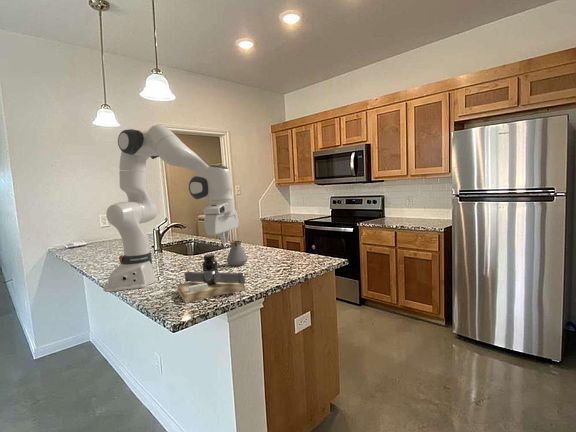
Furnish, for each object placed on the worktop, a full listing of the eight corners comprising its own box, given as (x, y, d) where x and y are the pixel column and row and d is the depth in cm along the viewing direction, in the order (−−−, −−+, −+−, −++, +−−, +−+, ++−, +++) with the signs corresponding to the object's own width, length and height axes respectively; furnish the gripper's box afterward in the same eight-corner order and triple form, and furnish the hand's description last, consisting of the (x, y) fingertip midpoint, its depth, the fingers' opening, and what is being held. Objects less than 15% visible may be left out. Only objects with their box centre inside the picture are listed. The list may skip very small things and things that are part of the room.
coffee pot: (227, 263, 185) (225, 237, 184) (247, 261, 187) (245, 235, 185) (226, 272, 164) (224, 243, 163) (249, 270, 166) (247, 241, 164)
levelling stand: (185, 302, 123) (183, 290, 123) (178, 291, 137) (176, 280, 137) (244, 289, 134) (243, 278, 134) (232, 281, 148) (231, 270, 148)
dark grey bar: (182, 284, 137) (181, 272, 136) (189, 280, 141) (188, 269, 141) (242, 286, 128) (241, 273, 128) (247, 282, 133) (246, 270, 133)
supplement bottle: (212, 277, 156) (210, 253, 154) (221, 279, 151) (219, 254, 150) (200, 281, 150) (198, 256, 149) (209, 283, 146) (207, 257, 145)
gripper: (227, 205, 135) (229, 238, 137) (200, 210, 116) (203, 248, 117) (241, 205, 133) (243, 238, 135) (215, 209, 114) (219, 248, 115)
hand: (224, 243), depth 126 cm, fingers closed
